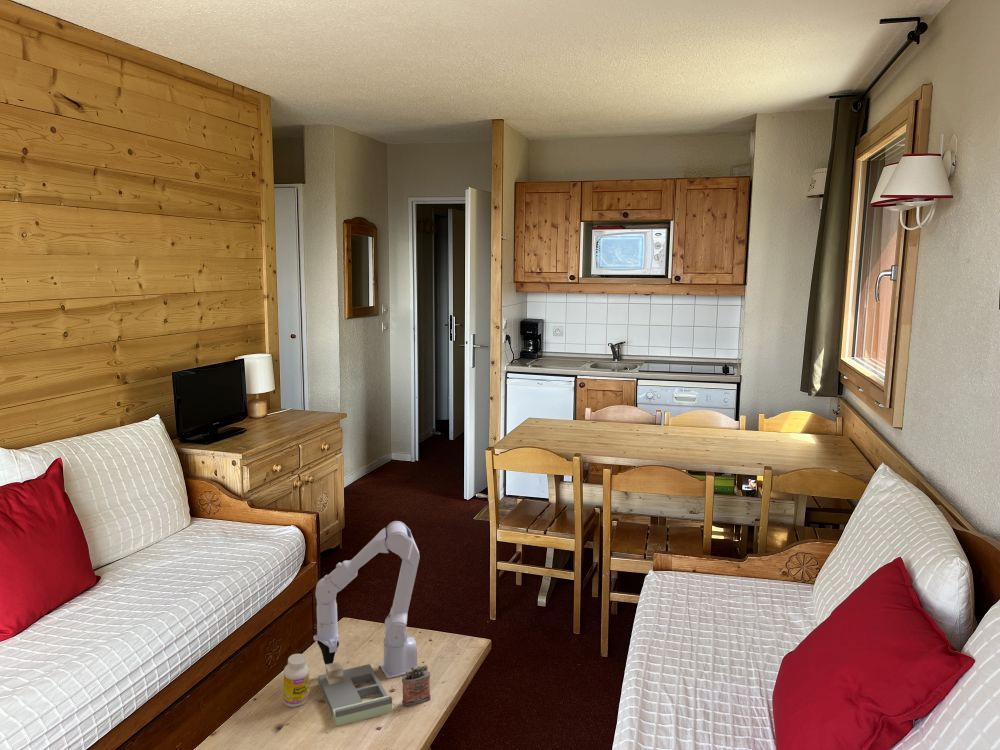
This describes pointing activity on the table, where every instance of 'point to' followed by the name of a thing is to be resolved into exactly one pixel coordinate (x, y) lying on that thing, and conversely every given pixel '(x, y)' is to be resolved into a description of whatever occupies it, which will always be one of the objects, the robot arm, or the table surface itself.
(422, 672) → the ornate red tin
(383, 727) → the table surface
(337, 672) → the block
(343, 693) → the grey divided tray
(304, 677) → the supplement bottle
